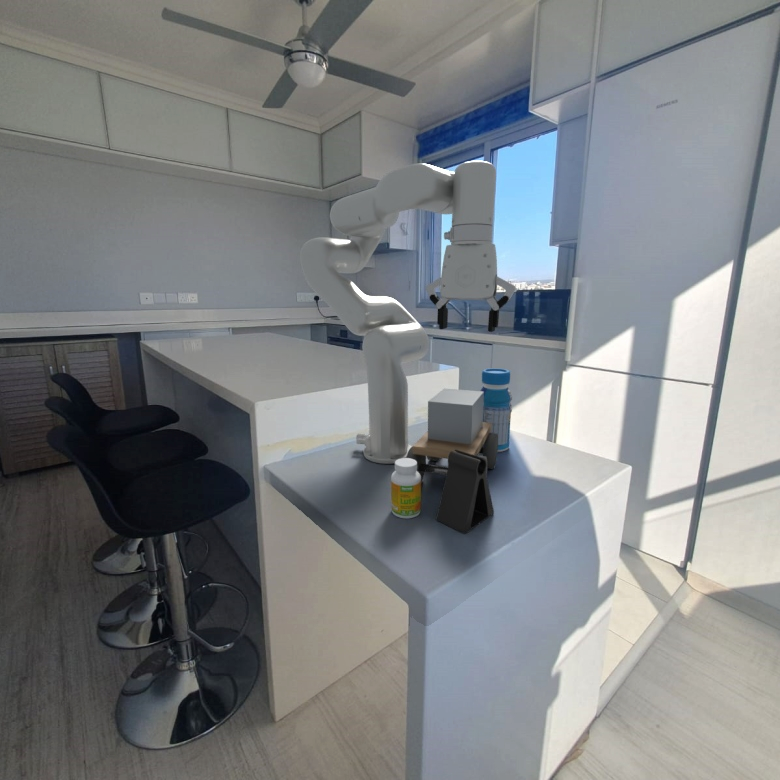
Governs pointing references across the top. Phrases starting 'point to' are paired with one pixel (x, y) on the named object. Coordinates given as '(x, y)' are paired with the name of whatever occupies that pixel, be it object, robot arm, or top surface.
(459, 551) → the top surface
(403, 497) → the supplement bottle
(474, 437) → the trolley
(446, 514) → the phone stand
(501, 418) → the beverage bottle
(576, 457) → the top surface
